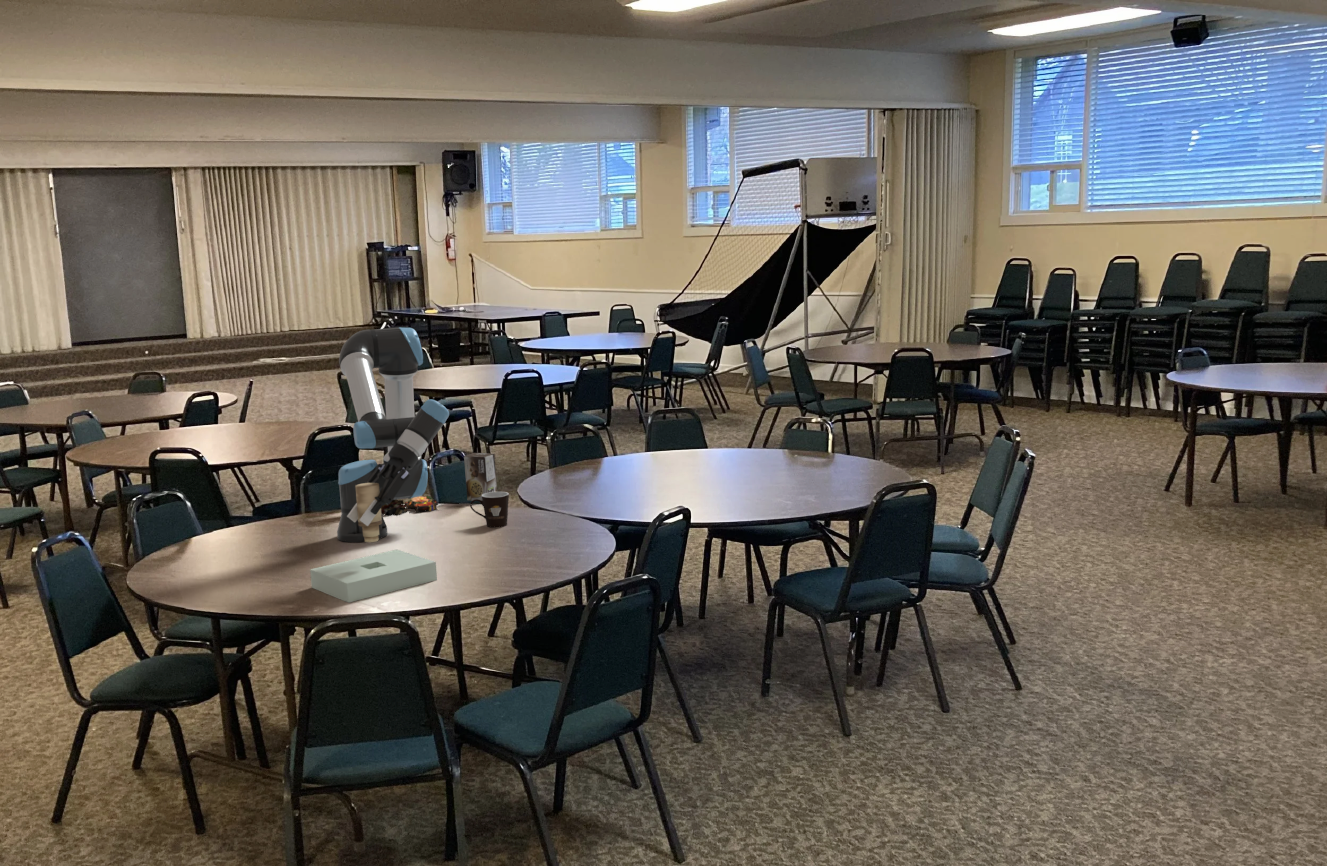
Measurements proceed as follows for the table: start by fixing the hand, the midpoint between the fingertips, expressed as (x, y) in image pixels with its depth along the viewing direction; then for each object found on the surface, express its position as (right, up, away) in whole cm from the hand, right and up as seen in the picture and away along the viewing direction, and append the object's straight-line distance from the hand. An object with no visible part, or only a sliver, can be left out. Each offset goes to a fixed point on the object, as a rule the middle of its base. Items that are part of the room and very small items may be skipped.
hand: (357, 521), depth 303 cm
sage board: (+3, -17, +5) cm, 18 cm away
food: (-8, -4, +95) cm, 95 cm away
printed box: (+16, -1, +105) cm, 107 cm away
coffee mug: (+26, -7, +67) cm, 72 cm away
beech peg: (+3, -5, +3) cm, 7 cm away
